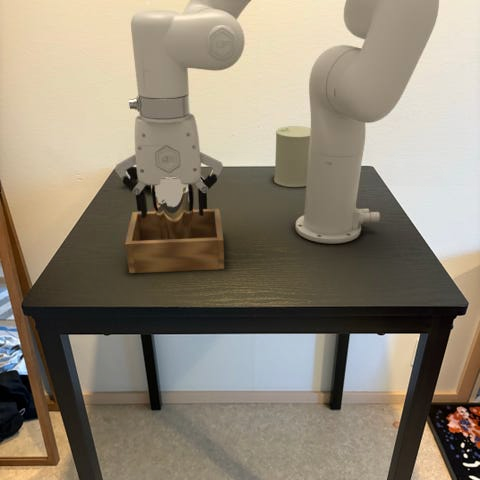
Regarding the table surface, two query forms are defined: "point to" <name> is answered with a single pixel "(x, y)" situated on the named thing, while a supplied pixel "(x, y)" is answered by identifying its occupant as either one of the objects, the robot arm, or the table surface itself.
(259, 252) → the table surface
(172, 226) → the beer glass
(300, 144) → the can
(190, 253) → the crate
